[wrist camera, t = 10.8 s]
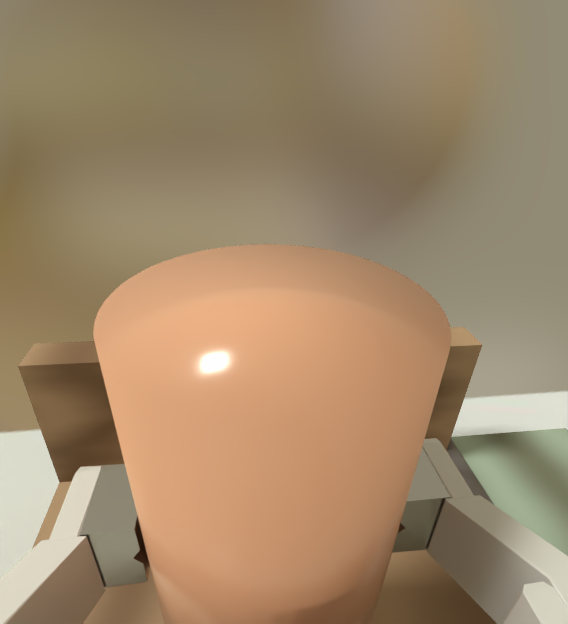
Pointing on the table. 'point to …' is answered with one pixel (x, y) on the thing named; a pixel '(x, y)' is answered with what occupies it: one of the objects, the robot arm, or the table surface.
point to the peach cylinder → (270, 426)
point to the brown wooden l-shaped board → (403, 565)
